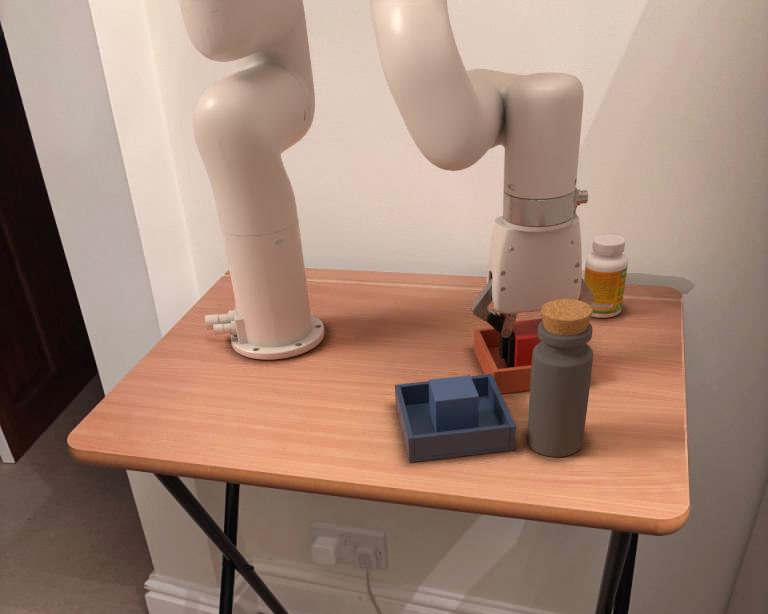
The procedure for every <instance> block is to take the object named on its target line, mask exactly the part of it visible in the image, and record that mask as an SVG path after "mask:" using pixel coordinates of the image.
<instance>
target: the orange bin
mask: <svg viewBox="0 0 768 614" xmlns="http://www.w3.org/2000/svg"><path fill="white" fill-rule="evenodd" d="M473 352H474V354H475V356H476V359H477V361H478V363H479V365H480V367H481V370H482V372H483V375H487V374H492V375H493V377H494V380H495V382H496V384H497V386H498V388H499V390H500V393H501V395H502V394H513V393H521V392H528V391H529V392H530V381H531V367H532V365H530V366H521V367H513V368H512V367H511V368H508V366H507V364H506V362H505V360H504V359H501V358H500V355H499V332H498V331H497V330H495V329H494V328H493V327H492V326H490V327H482V328H474V329H473Z"/></svg>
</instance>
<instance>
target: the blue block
mask: <svg viewBox="0 0 768 614" xmlns="http://www.w3.org/2000/svg"><path fill="white" fill-rule="evenodd" d="M471 376H472V375H471V374H467V375H458V376H457V375H456V376H450V377H440V378H432V379H428V381H429V412H430V419H431V422H432V425H433V428H434V432H435V433H436V432H445V431H453V430H462V429H471V428H479V395H478V393H477V390H476V388H475V385H474V383H473V381H472V378H471Z"/></svg>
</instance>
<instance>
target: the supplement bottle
mask: <svg viewBox="0 0 768 614" xmlns="http://www.w3.org/2000/svg"><path fill="white" fill-rule="evenodd" d="M625 246H626V238H624V237H623V236H621V235H619V234H618V235H617V234H612V233H610V234H609V233H607V234H605V233H604V234H599V235H596V236H595V237H593V239H592V246H591V247H592V248H591V249H592V252H591V253H590V254H588V255H587V257H586V259H585V264H584V274H583V280H584V282H585V283H586V285H587V286H588V287H589V289H590V290H591V292H592V293H593V294H594V296H595V300H594V301H593V302H592V303H591V304H590V306H591V307H592V310H593V311H592V315H591V318H597V319H600V318H601V319H606V318H612V317H615V316H616V317H617V316H618V315H619V314H621V311H622V307H623V301H624V293H625V287H626V280H627V274H628V273H627V272H628V266H629V259H628V257H627V256H626V254H624V252H625Z"/></svg>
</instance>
